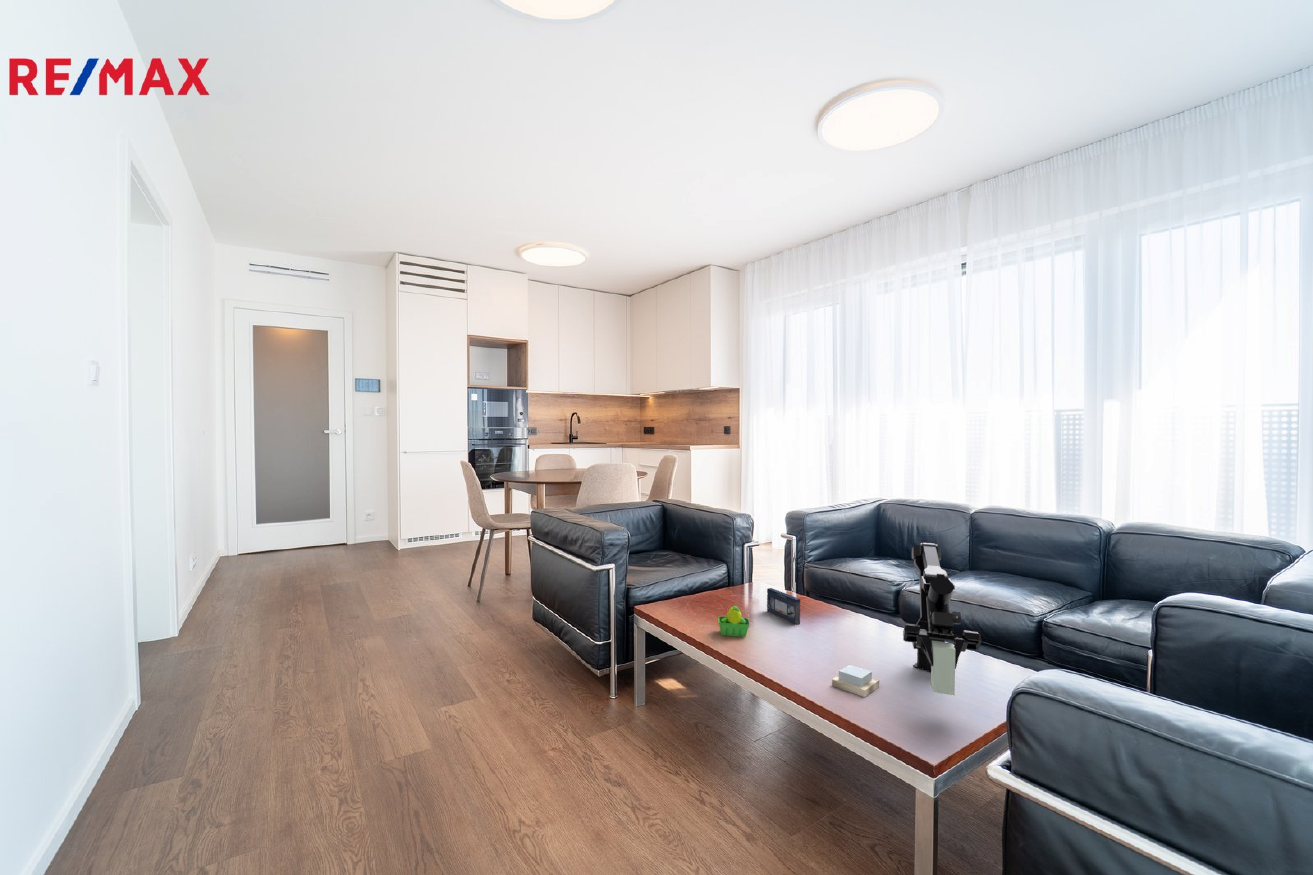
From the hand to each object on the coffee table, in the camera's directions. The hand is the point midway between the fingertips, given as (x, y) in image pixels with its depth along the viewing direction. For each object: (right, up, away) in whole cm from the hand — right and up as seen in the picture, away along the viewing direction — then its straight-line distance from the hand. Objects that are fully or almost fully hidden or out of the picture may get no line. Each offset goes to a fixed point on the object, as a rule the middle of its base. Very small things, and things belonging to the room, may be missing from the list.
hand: (943, 667), depth 147 cm
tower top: (-17, -11, +18) cm, 27 cm away
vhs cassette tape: (-24, -13, +80) cm, 85 cm away
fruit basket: (-48, -13, +60) cm, 77 cm away
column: (0, -7, +1) cm, 7 cm away
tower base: (-17, -14, +18) cm, 28 cm away
